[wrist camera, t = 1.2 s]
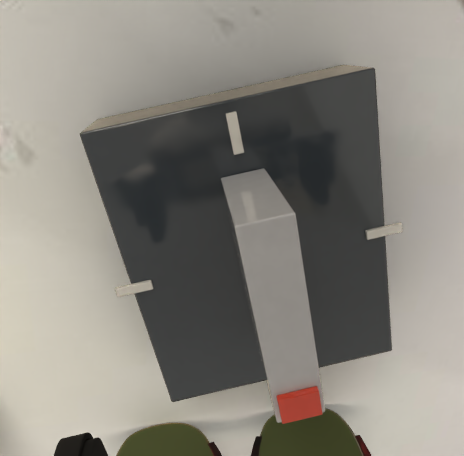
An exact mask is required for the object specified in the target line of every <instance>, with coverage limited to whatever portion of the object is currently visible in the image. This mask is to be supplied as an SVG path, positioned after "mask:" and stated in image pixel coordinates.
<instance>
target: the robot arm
mask: <svg viewBox="0 0 464 456" xmlns="http://www.w3.org/2000/svg"><path fill="white" fill-rule="evenodd" d="M54 456H108V454H107V452H106V450H105V447H104V445H103V443H102V441H101V439H100V438H94V439H93V437H92V435H91V434H90V433H84V434H80V435H76V436H71V437H67V438H63V439H61V440H60V441H59V443H58V445H57V447H56V450H55V454H54Z"/></svg>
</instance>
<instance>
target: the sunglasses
mask: <svg viewBox="0 0 464 456" xmlns="http://www.w3.org/2000/svg"><path fill="white" fill-rule="evenodd" d="M322 413H323V414H322V415H319V416H315V417H310V418H306V419H302V420H298V421H294V422H289V423H285V424H282V422H280V423H278V422H277V421H276V417H275V414H274V415H273V416H272V417H270V418H269V419H268V421H267V422H266V423H265V425H264V427H263V429H262V432H261V435H260V436H257V437H256V439H255V442H254V445H253V449H252V453H251V456H371V454H370V452H369V450H368V449H367V447H366V445H365V443H364V442H363V440H362V438H361V436H360V435H356V436H355V435H354V433H353V431H352V430H351V428H350V427H349V425H348V424H347V423H346V422H345V421H344V420H343V419H342V418H341V417H340V416H339V415H338V414H337V413H335V412H334V411H332V410H329V409H326V408H325V412H322ZM116 456H222V455H221V453H220V451H219V450H218V448H217V446H216V445H215V443H214V442H211V443H209V441H208V439H207V438H206V436H205V435H204V434H203V433H202V432H201V431H200V430H199V429H197V428H195V427H194V426H191V425H189V424H184V423H166V424H160V425H155V426H151V427H148V428H145V429H142V430H139V431H137V432H135V433H134V434H132V435H131V436H129V437H128V438H127V439H126V440H125V442H124V443H123V444H122V446H121V448H120V449H119V451H118V453H117V455H116Z"/></svg>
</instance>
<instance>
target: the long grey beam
mask: <svg viewBox="0 0 464 456" xmlns="http://www.w3.org/2000/svg"><path fill="white" fill-rule="evenodd" d="M221 183H222V188H223V192H224V197H225V201H226V206H227V210H228V215H229V219H230V224H231V228H232V233H233V238H234V242H235V247H236V251H237V256H238V260H239V265H240V269H241V274H242V278H243V283H244V288H245V292H246V297H247V301H248V306H249V310H250V315H251V319H252V324H253V328H254V333H255V337H256V341H257V345H258V349H259V353H260V357H261V361H262V365H263V369H264V373H265V377H266V381H267V385H268V389H269V393H270V397H271V401H272V405H273V409H274V413H275V417H276V421H277V422H278V423H280V422H282V424H285V423H289V422H294V421H298V420H302V419H306V418H310V417H315V416H319V415H322V414H323V413H322V412H325V405H324V398H323V392H322V385H321V378H320V372H319V365H318V359H317V352H316V345H315V339H314V332H313V325H312V319H311V312H310V306H309V299H308V292H307V286H306V279H305V272H304V266H303V259H302V253H301V246H300V239H299V233H298V226H297V219H296V214H295V212H294V211H293V209H292V208H291V206H290V205H289V203H288V202H287V200H286V199H285V198H284V196H283V195H282V193H281V192H280V190H279V189H278V187H277V186H276V184H275V183H274V181H273V180H272V179H271V177H270V176H269V174H268V173H267V171H266V170H265V169H264V168H263V169H259V170H254V171H250V172H245V173H241V174H236V175H232V176H227V177H223V178H221Z"/></svg>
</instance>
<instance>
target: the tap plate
mask: <svg viewBox="0 0 464 456" xmlns="http://www.w3.org/2000/svg"><path fill="white" fill-rule="evenodd" d="M80 137H81V140H82V143H83V146H84V148H85V151H86V154H87V157H88V160H89V163H90V166H91V169H92V172H93V175H94V178H95V180H96V183H97V186H98V189H99V192H100V195H101V198H102V201H103V204H104V207H105V209H106V212H107V215H108V218H109V221H110V224H111V227H112V230H113V233H114V236H115V238H116V241H117V244H118V247H119V250H120V253H121V256H122V259H123V262H124V265H125V267H126V270H127V273H128V276H129V279H130V282H131V284H129V285H125V286H120V287H116V288H115V292H116V295H117V297H121V296H126V295H130V294H135V297H136V299H137V302H138V305H139V308H140V311H141V314H142V317H143V320H144V323H145V326H146V328H147V331H148V334H149V337H150V340H151V343H152V346H153V349H154V352H155V355H156V357H157V360H158V363H159V366H160V369H161V372H162V375H163V378H164V381H165V384H166V387H167V389H168V392H169V395H170V398H171V401H172V402H175V401H179V400H183V399H188V398H192V397H196V396H200V395H205V394H209V393H213V392H217V391H222V390H226V389H230V388H234V387H239V386H243V385H247V384H251V383H256V382H260V381H264V380H266V377H265V373H264V369H263V365H262V361H261V357H260V353H259V349H258V345H257V341H256V337H255V333H254V328H253V324H252V319H251V315H250V310H249V306H248V301H247V297H246V292H245V288H244V283H243V278H242V274H241V269H240V265H239V260H238V256H237V251H236V247H235V242H234V238H233V233H232V228H231V224H230V219H229V215H228V210H227V206H226V201H225V197H224V192H223V188H222V183H221V178H223V177H227V176H232V175H236V174H241V173H245V172H250V171H254V170H259V169H263V168H264V169H265V170H266V171H267V173H268V174H269V176H270V177H271V179H272V180H273V181H274V183H275V184H276V186H277V187H278V189H279V190H280V192H281V193H282V195H283V196H284V198H285V199H286V200H287V202H288V203H289V205H290V206H291V208H292V209H293V211H294V212H295V214H296V219H297V226H298V233H299V239H300V246H301V253H302V259H303V266H304V272H305V279H306V286H307V292H308V299H309V306H310V312H311V319H312V325H313V332H314V339H315V345H316V352H317V359H318V365H319V368H320V367H324V366H328V365H332V364H337V363H341V362H345V361H349V360H354V359H358V358H362V357H366V356H371V355H375V354H379V353H384V352H388V351H391V350H392V343H391V326H390V310H389V293H388V277H387V260H386V244H385V236H387V235H391V234H396V233H400V232H402V223H401V222H400V223H395V224H391V225H386V226H384V211H383V194H382V178H381V161H380V145H379V128H378V112H377V95H376V79H375V69H374V68H372V67H361V66H350V65H340V66H335V67H331V68H326V69H322V70H317V71H313V72H308V73H304V74H299V75H295V76H290V77H286V78H281V79H277V80H272V81H268V82H263V83H259V84H254V85H250V86H245V87H241V88H236V89H232V90H227V91H223V92H218V93H214V94H209V95H205V96H200V97H196V98H191V99H187V100H182V101H178V102H173V103H168V104H164V105H159V106H155V107H150V108H146V109H141V110H137V111H132V112H128V113H123V114H119V115H114V116H110V117H105V118H101V119H97V120H96V121H95V122H93V123H92V124H91V125H90V126H88V127H87V128H86V129H85V130H83V131H82V132H81V133H80Z"/></svg>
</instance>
